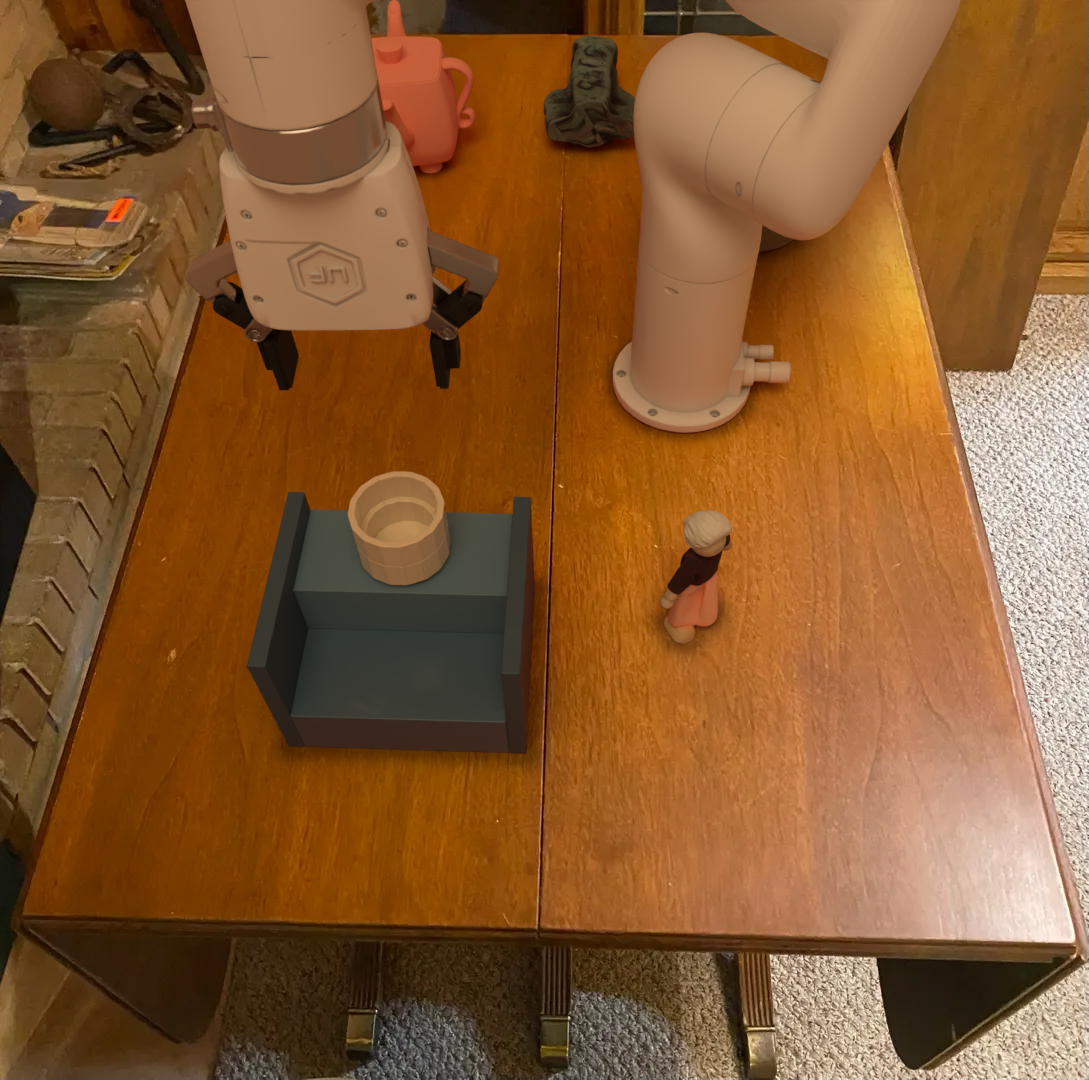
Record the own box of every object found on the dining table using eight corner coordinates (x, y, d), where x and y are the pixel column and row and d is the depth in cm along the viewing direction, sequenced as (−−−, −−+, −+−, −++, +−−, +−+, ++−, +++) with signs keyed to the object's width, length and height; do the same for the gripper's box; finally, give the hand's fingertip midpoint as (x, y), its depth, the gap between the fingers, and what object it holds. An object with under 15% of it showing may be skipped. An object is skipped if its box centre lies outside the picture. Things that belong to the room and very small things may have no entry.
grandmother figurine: (691, 663, 77) (711, 569, 67) (647, 640, 78) (659, 544, 68) (736, 590, 81) (761, 490, 70) (693, 569, 82) (711, 468, 72)
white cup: (454, 516, 73) (448, 472, 69) (446, 590, 69) (438, 548, 65) (367, 514, 73) (355, 470, 69) (354, 588, 70) (341, 545, 66)
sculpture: (670, 116, 112) (626, 68, 123) (640, 60, 107) (597, 14, 117) (579, 184, 115) (544, 130, 125) (545, 132, 110) (511, 81, 120)
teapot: (398, 211, 110) (382, 102, 99) (306, 148, 117) (281, 40, 106) (500, 153, 116) (494, 44, 105) (407, 96, 123) (392, -12, 112)
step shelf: (535, 589, 81) (530, 496, 71) (526, 753, 73) (519, 674, 63) (320, 584, 82) (287, 491, 72) (288, 746, 74) (246, 666, 64)
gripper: (108, 171, 47) (216, 420, 61) (481, 165, 47) (504, 417, 61) (147, 80, 51) (240, 332, 65) (489, 74, 51) (509, 329, 65)
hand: (367, 373), depth 63 cm, fingers open, 9 cm apart
